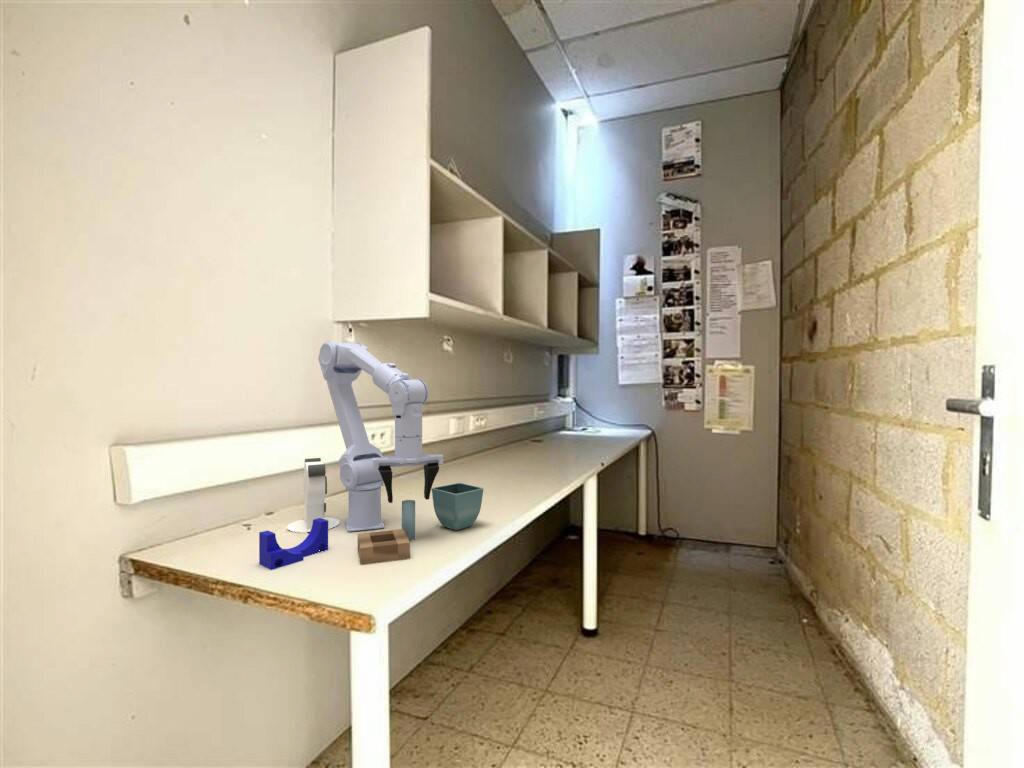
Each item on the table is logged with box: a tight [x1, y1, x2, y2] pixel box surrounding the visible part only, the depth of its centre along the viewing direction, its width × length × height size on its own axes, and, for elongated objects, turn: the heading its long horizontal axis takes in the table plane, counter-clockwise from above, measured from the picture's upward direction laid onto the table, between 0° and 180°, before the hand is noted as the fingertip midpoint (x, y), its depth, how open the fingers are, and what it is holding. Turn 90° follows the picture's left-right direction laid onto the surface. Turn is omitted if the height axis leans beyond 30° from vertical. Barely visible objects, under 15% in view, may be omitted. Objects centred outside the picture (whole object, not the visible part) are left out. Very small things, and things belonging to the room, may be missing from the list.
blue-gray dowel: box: [401, 499, 416, 542], centre depth 104 cm, size 3×3×8 cm
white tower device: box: [286, 457, 341, 534], centre depth 113 cm, size 12×11×15 cm
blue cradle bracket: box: [258, 518, 329, 571], centre depth 93 cm, size 12×4×6 cm, turn 142°
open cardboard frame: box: [357, 528, 411, 565], centre depth 95 cm, size 9×9×3 cm
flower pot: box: [431, 482, 485, 531], centre depth 113 cm, size 9×9×9 cm
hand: (408, 500), depth 104 cm, fingers open, 7 cm apart
